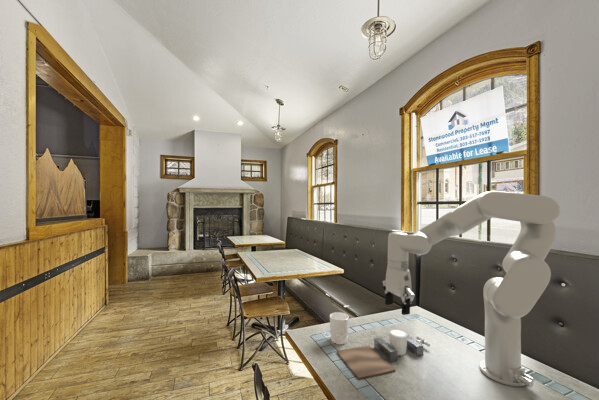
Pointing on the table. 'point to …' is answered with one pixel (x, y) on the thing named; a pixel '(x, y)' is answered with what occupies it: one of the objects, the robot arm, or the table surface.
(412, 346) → the vise
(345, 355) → the serving board
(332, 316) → the white cup
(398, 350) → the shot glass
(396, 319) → the table surface
